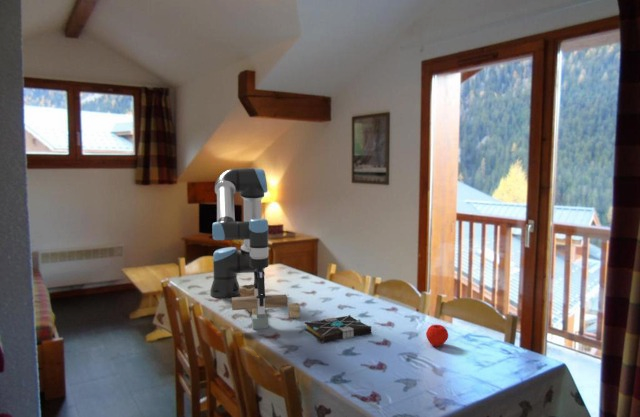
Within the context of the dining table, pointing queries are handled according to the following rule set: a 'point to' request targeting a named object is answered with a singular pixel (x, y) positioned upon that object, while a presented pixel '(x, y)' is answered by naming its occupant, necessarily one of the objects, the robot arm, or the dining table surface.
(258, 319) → the block
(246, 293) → the pipe
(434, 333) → the apple
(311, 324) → the book
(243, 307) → the rod
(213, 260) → the robot arm
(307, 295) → the dining table surface
